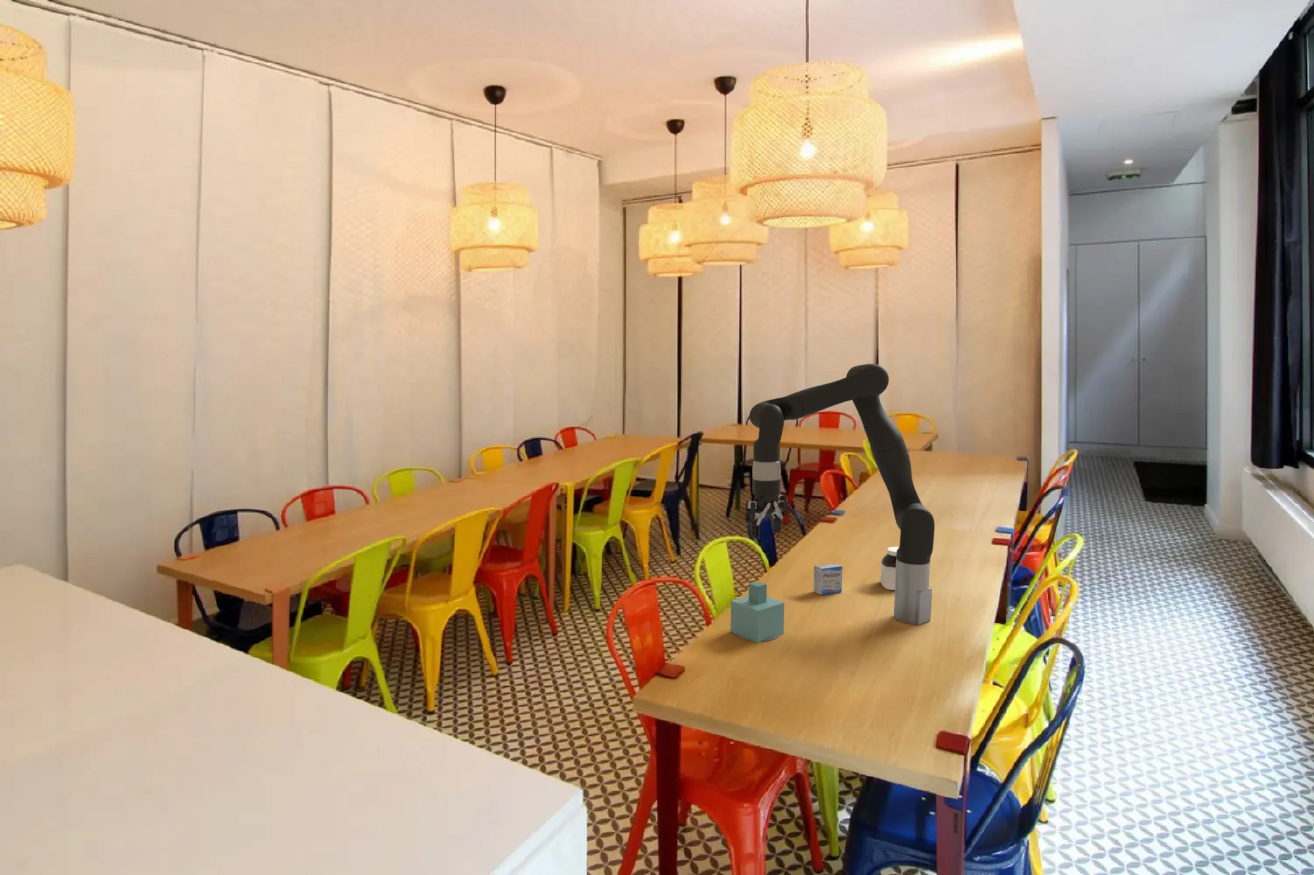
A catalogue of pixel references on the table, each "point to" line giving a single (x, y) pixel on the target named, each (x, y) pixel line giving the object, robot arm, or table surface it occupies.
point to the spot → (762, 640)
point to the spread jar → (889, 568)
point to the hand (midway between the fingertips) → (766, 535)
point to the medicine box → (828, 579)
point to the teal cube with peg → (757, 614)
